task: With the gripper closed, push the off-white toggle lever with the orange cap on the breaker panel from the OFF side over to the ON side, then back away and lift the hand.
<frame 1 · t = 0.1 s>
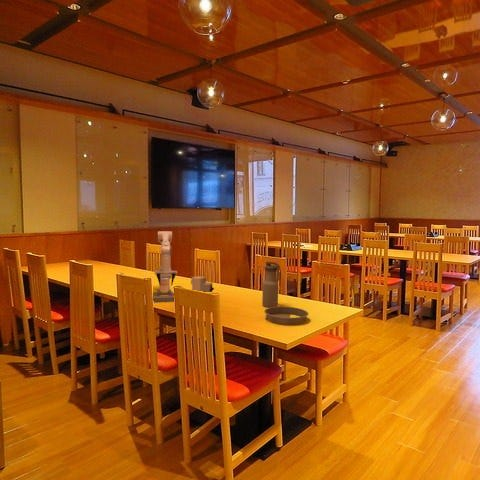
hand: (165, 285, 261), 10 cm above the table, tool pointing down, fingers open, 7 cm apart
toggle lever: (164, 288, 268), point 7 cm above the table, hinge at -25.0°
circuit breaker: (202, 300, 265), on the table
cake pan: (285, 319, 223), on the table
breaker panel: (164, 298, 267), on the table
water bottle: (270, 306, 252), on the table
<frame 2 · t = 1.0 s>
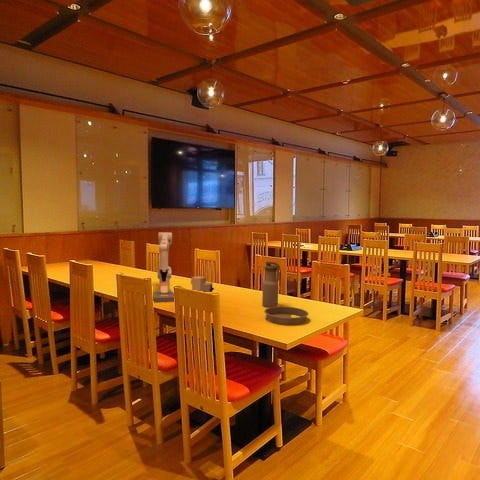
hand: (163, 280, 273), 10 cm above the table, tool pointing down, fingers open, 4 cm apart
toggle lever: (164, 288, 268), point 6 cm above the table, hinge at -29.6°
everything else where it was.
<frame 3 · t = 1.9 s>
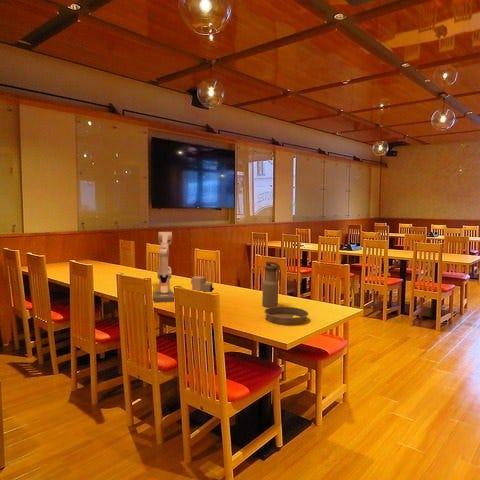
hand: (163, 285, 274), 7 cm above the table, tool pointing down, fingers closed
toggle lever: (164, 288, 268), point 6 cm above the table, hinge at -29.9°
everything else where it was.
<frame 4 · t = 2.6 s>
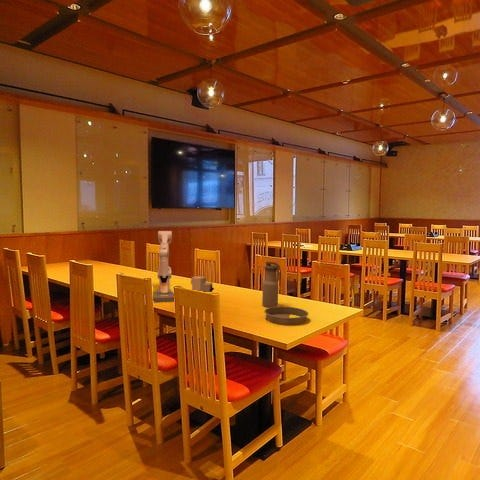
hand: (163, 286, 271), 7 cm above the table, tool pointing down, fingers closed, pressing on toggle lever
toggle lever: (164, 288, 268), point 6 cm above the table, hinge at -29.8°, touching gripper
everything else where it was.
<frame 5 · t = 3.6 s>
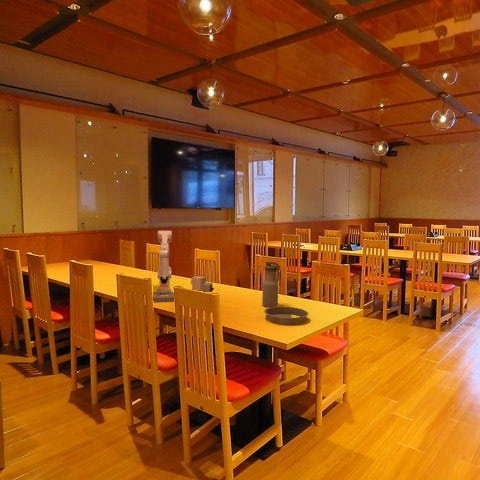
hand: (164, 287, 267), 7 cm above the table, tool pointing down, fingers closed
toggle lever: (164, 288, 265), point 7 cm above the table, hinge at 18.5°, touching gripper
everything else where it was.
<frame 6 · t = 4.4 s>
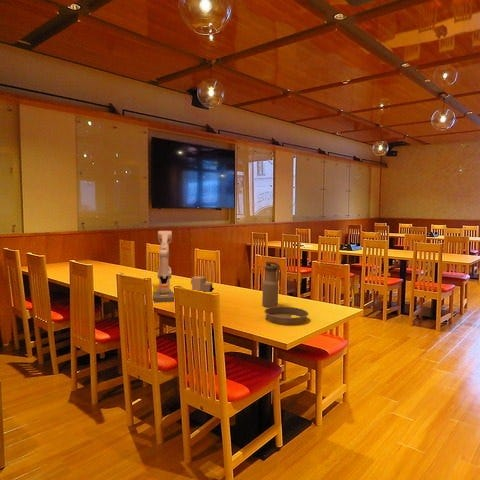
hand: (163, 287, 270), 7 cm above the table, tool pointing down, fingers closed
toggle lever: (164, 288, 265), point 7 cm above the table, hinge at 23.5°
everything else where it was.
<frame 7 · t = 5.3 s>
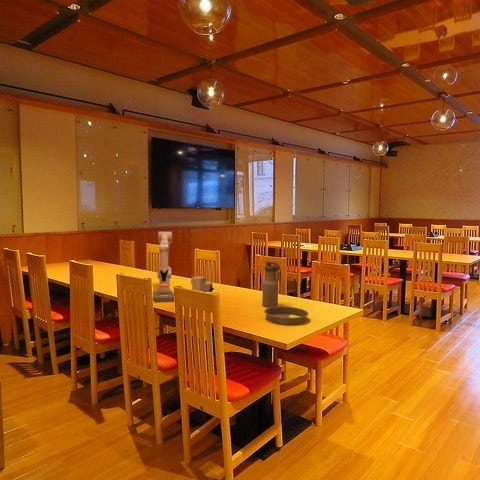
hand: (163, 281, 272), 10 cm above the table, tool pointing down, fingers closed
nothing on the table moved.
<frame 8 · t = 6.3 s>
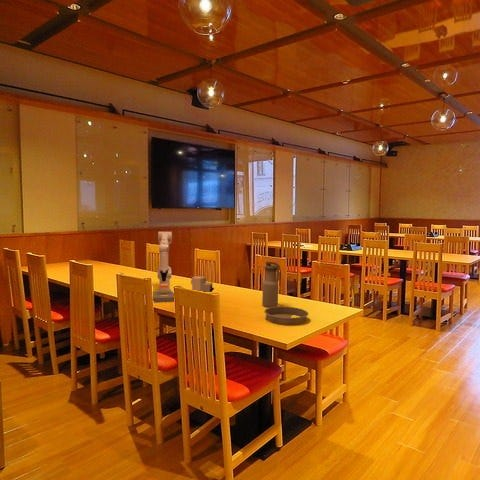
hand: (163, 281, 272), 10 cm above the table, tool pointing down, fingers closed
nothing on the table moved.
at the end: toggle lever at +24° (first picture: -25°); circuit breaker moved 0.2 cm from its start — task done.
